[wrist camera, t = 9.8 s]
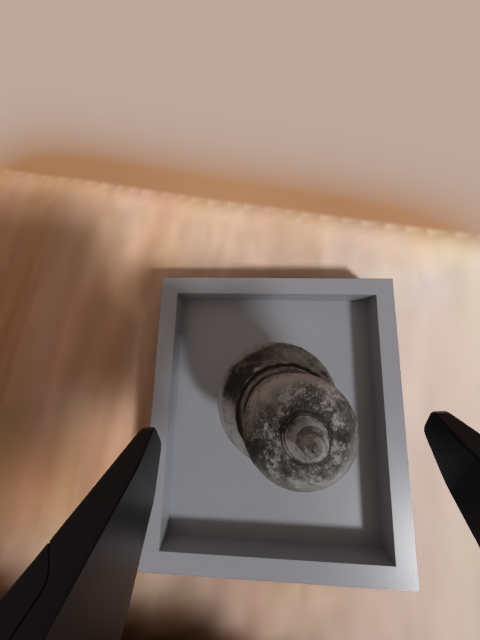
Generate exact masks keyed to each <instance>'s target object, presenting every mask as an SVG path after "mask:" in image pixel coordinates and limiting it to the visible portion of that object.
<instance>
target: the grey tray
mask: <svg viewBox="0 0 480 640" xmlns="http://www.w3.org/2000/svg"><path fill="white" fill-rule="evenodd" d="M270 342H277V343H288V344H292V345H295V346H298V347H301V348H303V349H304V350H306V351H308V352H309V353H311V354H313V355H314V356H315V357H316V358H317V359H318V360H319V361H320V362H321V363H322V364H323V365H324V366H325V367H326V369H327V370H328V372H329V374H330V376H331V377H332V379H333V381H334V384H335V387H336V388H337V389H338V390H339V391H340V392H341V393H342V394H343V395H344V396H345V397H346V399H347V400H348V402H349V404H350V406H351V407H352V409H353V411H354V412H355V416H356V419H357V423H358V426H359V446H358V450H357V455H356V458H355V460H354V462H353V464H352V465H351V467H350V469H349V471H348V472H347V473H346V474H345V475H344V476H343V477H342V478H341V479H340V480H339V481H338V482H336V483H335V484H333V485H331V486H329V487H327V488H325V489H323V490H318V491H314V492H309V493H308V492H294V491H290V490H288V489H285V488H282V487H279V486H277V485H276V484H274V483H273V482H272V481H270V480H269V479H267V478H266V477H265V476H264V475H263V474H262V473H261V472H260V471H259V469H258V468H257V467H256V466H255V465H254V464H253V462H252V460H251V459H250V458H249V457H247V456H246V455H244V454H243V453H242V452H240V451H239V450H238V449H237V448H236V447H235V445H234V444H233V443H232V442H231V441H230V439H229V438H228V436H227V434H226V432H225V430H224V428H223V426H222V424H221V420H220V415H219V410H218V398H219V389H220V386H221V383H222V380H223V377H224V375H225V373H226V371H227V370H228V368H229V367H230V365H231V364H232V362H233V361H235V360H236V359H237V358H238V357H239V356H240V355H241V354H242V353H243V352H245V351H247V350H249V349H251V348H253V347H255V346H257V345H261V344H266V343H270ZM150 427H154V428H156V430H157V433H158V435H159V438H160V440H161V454H160V461H159V469H158V476H157V484H156V491H155V497H154V502H153V506H152V511H151V515H150V519H149V523H148V528H147V532H146V536H145V540H144V544H143V549H142V553H141V557H140V561H139V570H138V572H143V573H157V574H171V575H185V576H200V577H214V578H228V579H242V580H257V581H271V582H285V583H300V584H314V585H328V586H342V587H357V588H371V589H385V590H400V591H414V592H419V585H418V573H417V562H416V550H415V538H414V526H413V515H412V503H411V491H410V479H409V468H408V456H407V444H406V432H405V420H404V409H403V397H402V385H401V373H400V362H399V350H398V338H397V326H396V315H395V303H394V291H393V279H352V278H172V277H163V281H162V293H161V305H160V317H159V329H158V341H157V353H156V365H155V377H154V389H153V401H152V413H151V425H150Z"/></svg>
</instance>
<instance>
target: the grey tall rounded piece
mask: <svg viewBox="0 0 480 640" xmlns="http://www.w3.org/2000/svg"><path fill="white" fill-rule="evenodd" d="M218 410H219V415H220V420H221V424H222V426H223V428H224V430H225V432H226V434H227V436H228V438H229V439H230V441H231V442H232V443H233V444H234V445H235V447H236V448H237V449H238V450H239V451H240V452H242V453H243V454H244V455H246V456H247V457H249V458H250V459H251V460H252V462H253V464H254V465H255V466H256V467H257V468H258V469H259V471H260V472H261V473H262V474H263V475H264V476H265V477H266V478H267V479H269V480H270V481H272V482H273V483H274V484H276V485H277V486H279V487H282V488H285V489H288V490H290V491H294V492H308V493H309V492H314V491H318V490H323V489H325V488H327V487H329V486H331V485H333V484H335V483H336V482H338V481H339V480H340V479H341V478H342V477H343V476H344V475H345V474H346V473H347V472H348V471H349V469H350V467H351V465H352V464H353V462H354V460H355V458H356V455H357V450H358V446H359V426H358V423H357V419H356V416H355V412H354V411H353V409H352V407H351V406H350V404H349V402H348V400H347V399H346V397H345V396H344V395H343V394H342V393H341V392H340V391H339V390H338V389H337V388H336V387H335V384H334V381H333V379H332V377H331V376H330V374H329V372H328V370H327V369H326V367H325V366H324V365H323V364H322V363H321V362H320V361H319V360H318V359H317V358H316V357H315V356H314V355H313V354H311V353H309V352H308V351H306V350H304V349H303V348H301V347H298V346H295V345H292V344H288V343H277V342H270V343H266V344H261V345H257V346H255V347H253V348H251V349H249V350H247V351H245V352H243V353H242V354H241V355H240V356H239V357H238V358H237V359H236V360H235V361H233V362H232V364H231V365H230V367H229V368H228V370H227V371H226V373H225V375H224V377H223V380H222V383H221V386H220V389H219V398H218Z"/></svg>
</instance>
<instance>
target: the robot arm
mask: <svg viewBox="0 0 480 640" xmlns="http://www.w3.org/2000/svg"><path fill="white" fill-rule="evenodd" d="M424 432H425V435H426V438H427V440H428V442H429V445H430V447H431V450H432V452H433V454H434V457H435V459H436V462H437V464H438V466H439V469H440V471H441V474H442V476H443V478H444V480H445V483H446V485H447V487H448V489H449V491H450V492H451V494H452V496H453V498H454V500H455V502H456V504H457V506H458V507H459V509H460V511H461V513H462V515H463V517H464V519H465V521H466V522H467V524H468V526H469V528H470V530H471V532H472V534H473V536H474V537H475V539H476V541H477V543H478V545H479V547H480V434H479V433H478V432H476V431H475V430H474V429H472V428H471V427H469V426H468V425H466V424H465V423H463V422H462V421H461V420H459V419H458V418H456V417H455V416H453V415H452V414H450V413H449V412H446V411H435V412H432V413H431V414H430V416H429V418H428V420H427V422H426V424H425V427H424ZM160 454H161V440H160V438H159V435H158V433H157V430H156V428H154V427H144V428H142V429H141V430H140V431H139V432H138V433H137V435H136V436H135V437H134V438H133V439H132V441H131V442H130V443H129V444H128V446H127V447H126V448H125V449H124V451H123V452H122V453H121V454H120V455H119V457H118V458H117V459H116V460H115V462H114V463H113V464H112V465H111V466H110V468H109V469H108V470H107V471H106V473H105V474H104V475H103V476H102V477H101V479H100V480H99V481H98V482H97V484H96V485H95V486H94V487H93V489H92V490H91V491H90V492H89V493H88V495H87V496H86V497H85V498H84V500H83V501H82V502H81V503H80V504H79V506H78V507H77V508H76V509H75V511H74V512H73V513H72V514H71V515H70V517H69V518H68V519H67V520H66V522H65V523H64V524H63V525H62V527H61V528H60V529H59V530H58V531H57V533H56V534H55V535H54V536H53V538H52V539H51V540H50V543H48V544H47V545H46V546H45V547H44V548H43V550H42V551H41V552H40V553H39V555H38V556H37V557H36V558H35V559H34V561H33V562H32V563H31V564H30V565H29V567H28V568H27V569H26V570H25V571H24V572H23V574H22V575H21V576H20V577H19V578H18V580H17V581H16V582H15V583H14V584H13V585H12V586H11V588H10V589H9V590H8V591H7V592H6V593H5V594H4V595H3V597H2V598H1V599H0V640H121V637H122V633H123V629H124V625H125V621H126V616H127V612H128V608H129V604H130V599H131V595H132V591H133V587H134V582H135V578H136V574H137V570H138V566H139V561H140V557H141V553H142V549H143V544H144V540H145V536H146V532H147V528H148V523H149V519H150V515H151V511H152V506H153V502H154V497H155V491H156V484H157V476H158V469H159V461H160Z"/></svg>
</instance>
